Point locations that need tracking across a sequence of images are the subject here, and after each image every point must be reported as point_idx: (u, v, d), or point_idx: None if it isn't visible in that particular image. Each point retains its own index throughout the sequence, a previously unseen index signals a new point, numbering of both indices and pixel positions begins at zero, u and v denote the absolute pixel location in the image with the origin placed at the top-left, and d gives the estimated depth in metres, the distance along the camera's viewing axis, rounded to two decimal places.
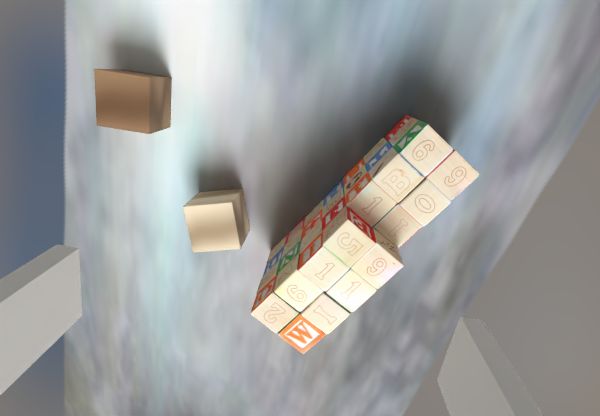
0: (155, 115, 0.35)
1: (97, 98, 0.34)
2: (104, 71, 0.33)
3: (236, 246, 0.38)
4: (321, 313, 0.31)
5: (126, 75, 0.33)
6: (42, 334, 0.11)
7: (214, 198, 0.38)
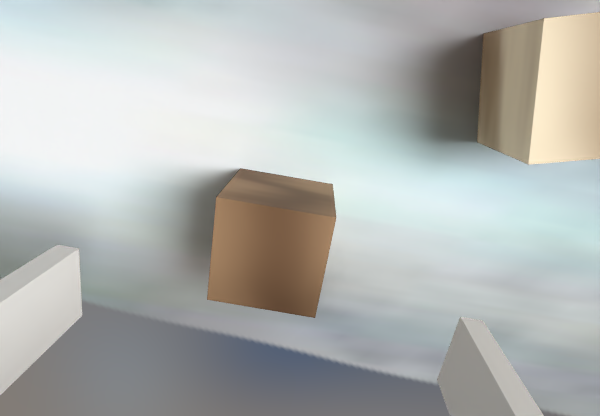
0: (300, 201, 0.16)
1: (262, 305, 0.17)
2: (210, 282, 0.17)
3: None
4: None
5: (215, 243, 0.16)
6: (42, 334, 0.11)
7: (512, 87, 0.15)
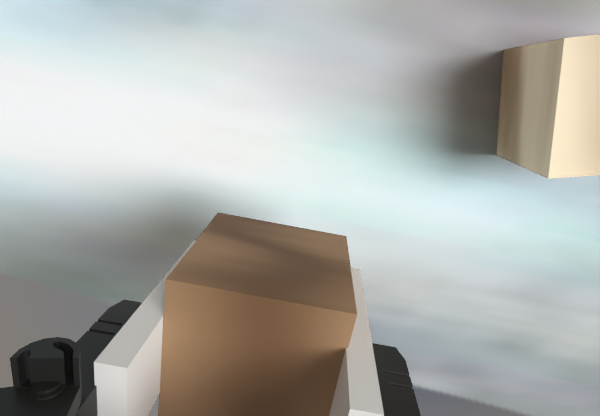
0: (300, 278, 0.11)
1: None
2: (161, 399, 0.11)
3: None
4: None
5: (166, 345, 0.10)
6: None
7: (532, 103, 0.15)
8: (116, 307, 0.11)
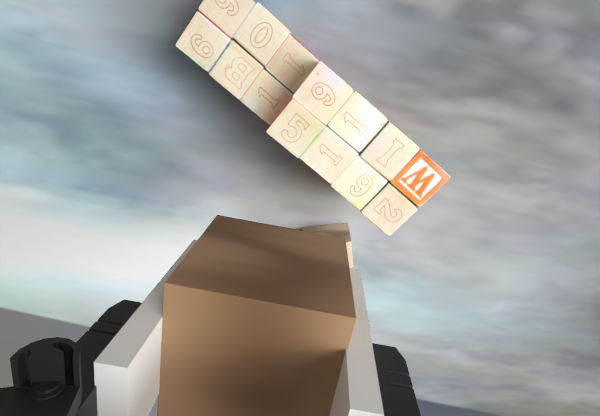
0: (298, 281, 0.11)
1: None
2: (160, 402, 0.11)
3: (348, 245, 0.36)
4: (387, 157, 0.26)
5: (165, 348, 0.10)
6: None
7: None
8: (116, 307, 0.11)
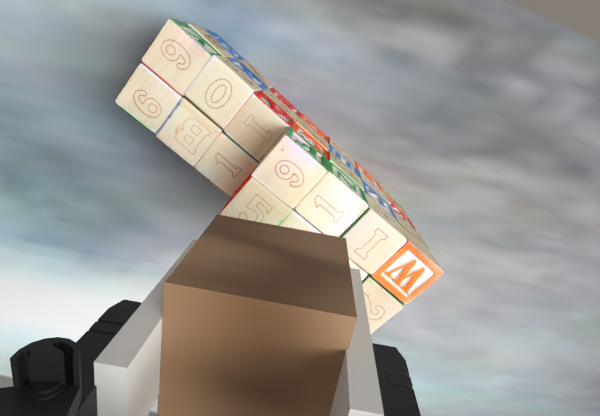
0: (299, 281, 0.11)
1: None
2: (160, 402, 0.11)
3: None
4: (368, 248, 0.21)
5: (165, 348, 0.10)
6: None
7: None
8: (115, 307, 0.11)
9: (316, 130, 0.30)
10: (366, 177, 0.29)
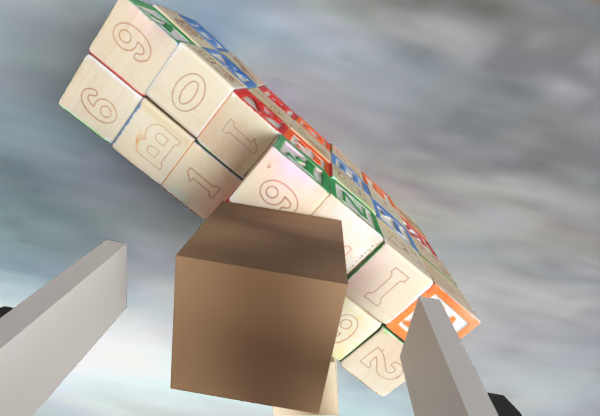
0: (297, 255, 0.12)
1: (245, 397, 0.12)
2: (174, 367, 0.12)
3: (330, 366, 0.27)
4: (382, 293, 0.16)
5: (177, 316, 0.11)
6: (97, 323, 0.12)
7: None
8: None
9: (316, 136, 0.25)
10: (376, 193, 0.24)
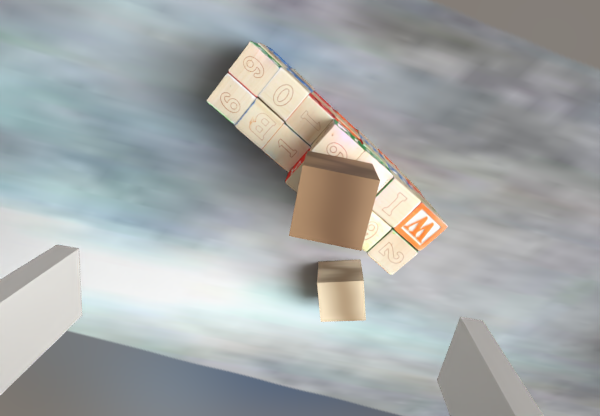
0: (354, 171, 0.25)
1: (325, 241, 0.25)
2: (292, 223, 0.25)
3: (361, 283, 0.40)
4: (392, 208, 0.29)
5: (298, 196, 0.24)
6: (42, 334, 0.11)
7: None
8: None
9: (348, 123, 0.38)
10: None
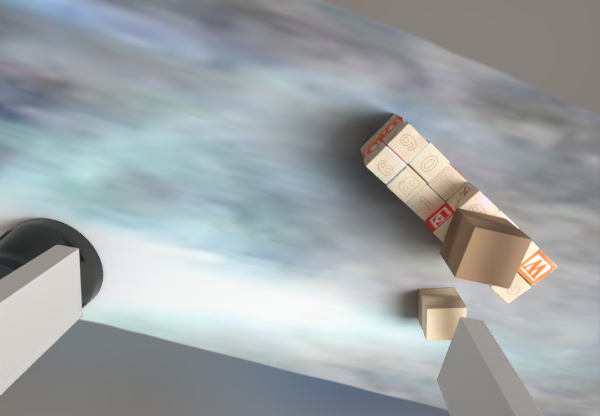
0: (507, 230, 0.33)
1: (483, 281, 0.33)
2: (459, 268, 0.33)
3: (464, 310, 0.48)
4: None
5: (467, 249, 0.32)
6: (42, 334, 0.11)
7: (423, 315, 0.51)
8: None
9: None
10: None
